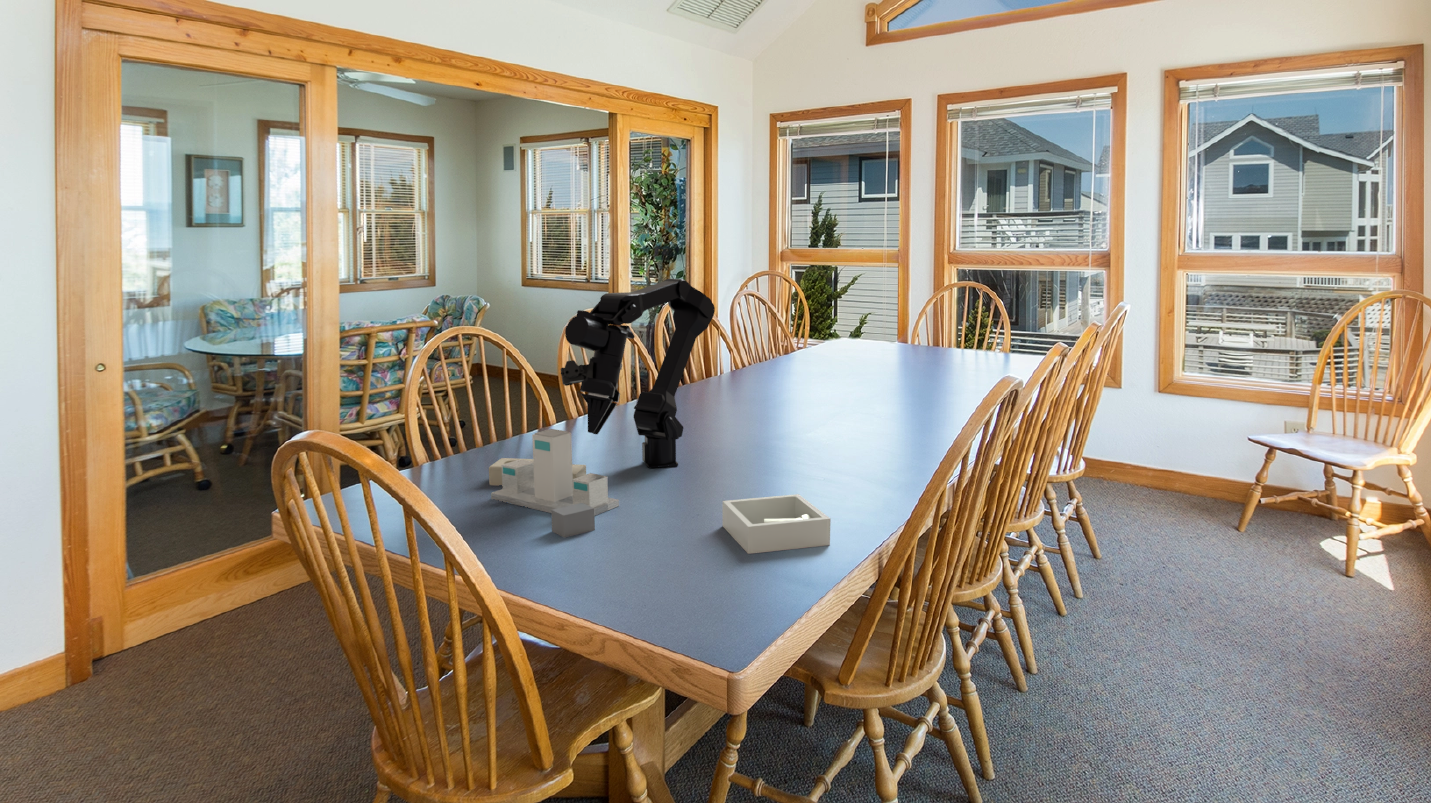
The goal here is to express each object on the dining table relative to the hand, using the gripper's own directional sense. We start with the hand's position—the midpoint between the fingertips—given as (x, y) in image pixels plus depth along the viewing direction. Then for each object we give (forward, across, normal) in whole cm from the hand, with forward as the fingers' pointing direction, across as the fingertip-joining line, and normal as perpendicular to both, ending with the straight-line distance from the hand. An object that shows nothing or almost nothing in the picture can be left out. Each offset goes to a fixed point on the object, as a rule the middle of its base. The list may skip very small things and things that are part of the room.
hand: (592, 433), depth 179 cm
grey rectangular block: (+17, +23, +2) cm, 29 cm away
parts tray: (+11, +27, +36) cm, 46 cm away
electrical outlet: (+12, -6, -9) cm, 17 cm away
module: (+13, +8, -4) cm, 16 cm away
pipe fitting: (+12, +28, +37) cm, 48 cm away
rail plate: (+14, +8, -4) cm, 16 cm away
